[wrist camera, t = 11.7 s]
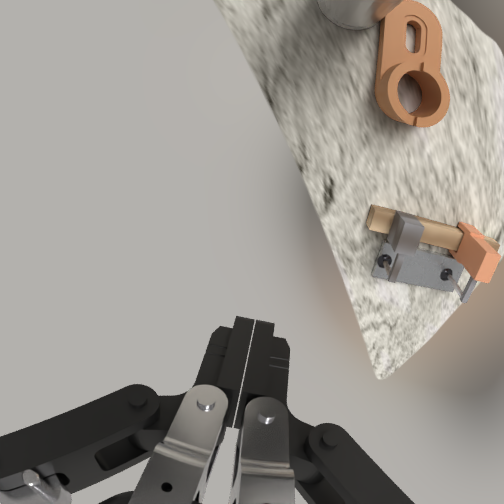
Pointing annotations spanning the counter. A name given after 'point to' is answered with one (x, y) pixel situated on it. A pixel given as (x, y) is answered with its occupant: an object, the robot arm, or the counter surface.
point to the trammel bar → (413, 234)
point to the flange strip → (420, 268)
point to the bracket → (411, 64)
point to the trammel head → (474, 259)
